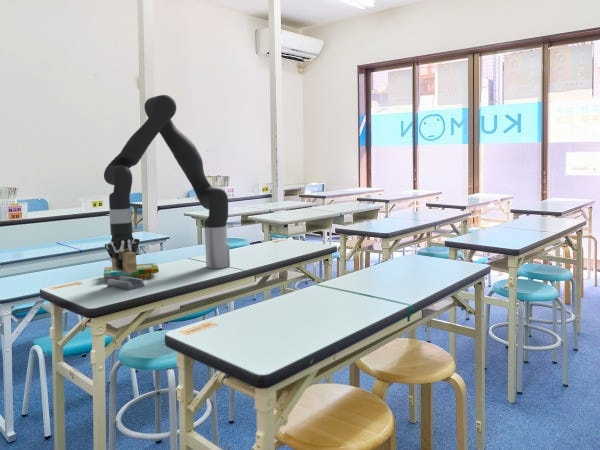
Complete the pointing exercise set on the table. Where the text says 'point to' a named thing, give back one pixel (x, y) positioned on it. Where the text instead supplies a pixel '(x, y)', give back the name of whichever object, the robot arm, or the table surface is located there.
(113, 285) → the sill track
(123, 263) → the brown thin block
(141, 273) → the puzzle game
